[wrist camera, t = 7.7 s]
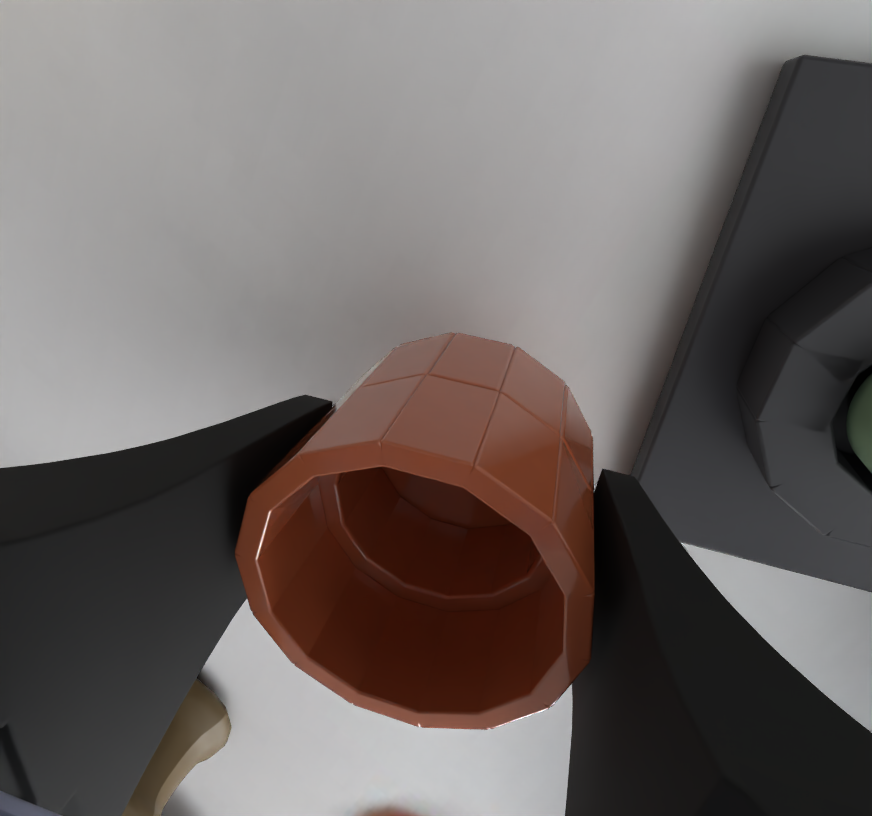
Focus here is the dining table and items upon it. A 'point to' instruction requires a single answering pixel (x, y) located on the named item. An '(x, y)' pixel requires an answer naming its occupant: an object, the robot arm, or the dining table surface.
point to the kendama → (181, 749)
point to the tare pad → (780, 346)
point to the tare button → (861, 423)
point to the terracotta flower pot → (433, 538)
